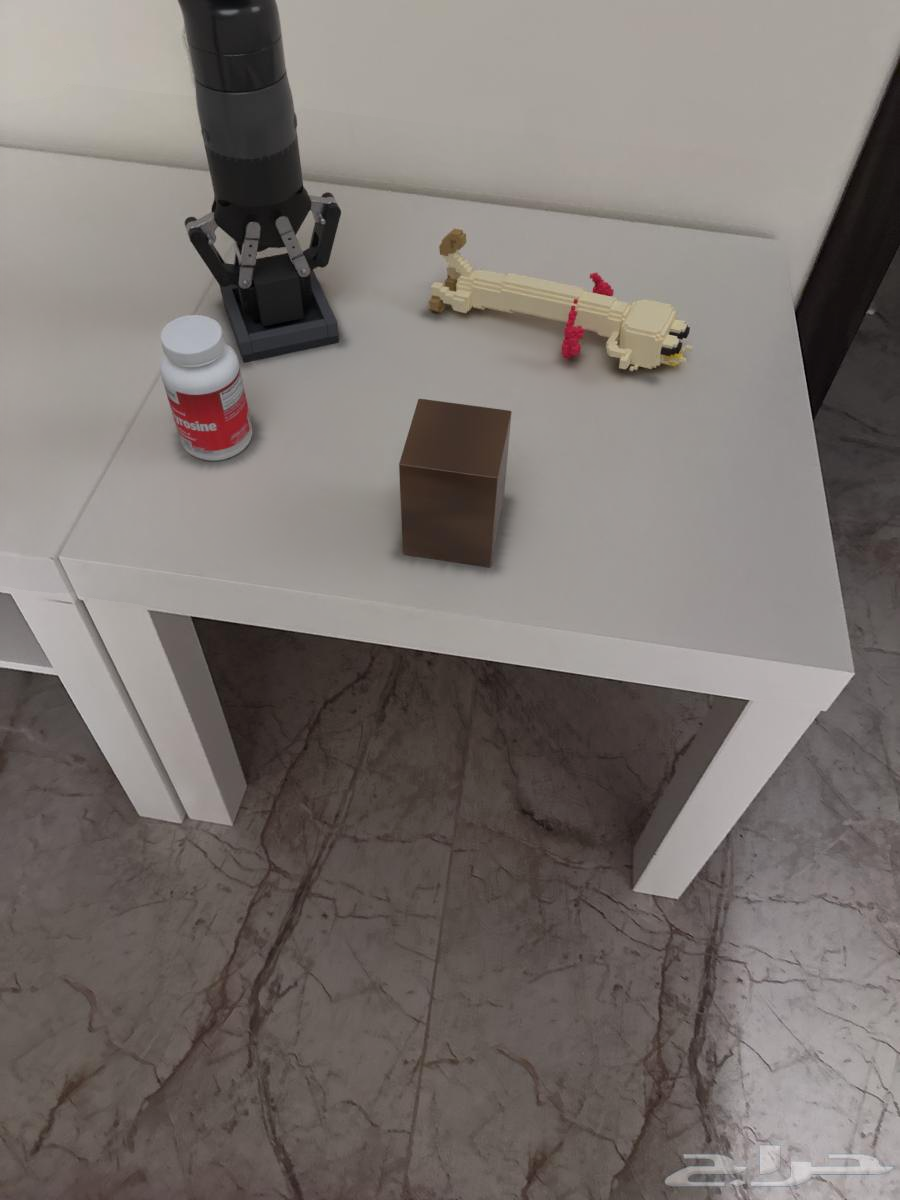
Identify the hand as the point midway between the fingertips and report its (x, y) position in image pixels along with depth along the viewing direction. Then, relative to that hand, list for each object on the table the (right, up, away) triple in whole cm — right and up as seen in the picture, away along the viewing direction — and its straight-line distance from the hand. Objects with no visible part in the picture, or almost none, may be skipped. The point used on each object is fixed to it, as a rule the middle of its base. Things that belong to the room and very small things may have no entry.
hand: (278, 309), depth 88 cm
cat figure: (+27, -2, +1) cm, 27 cm away
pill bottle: (-4, -14, -8) cm, 16 cm away
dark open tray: (0, -1, +1) cm, 2 cm away
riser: (+17, -22, -14) cm, 31 cm away
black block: (0, 0, 0) cm, 0 cm away
